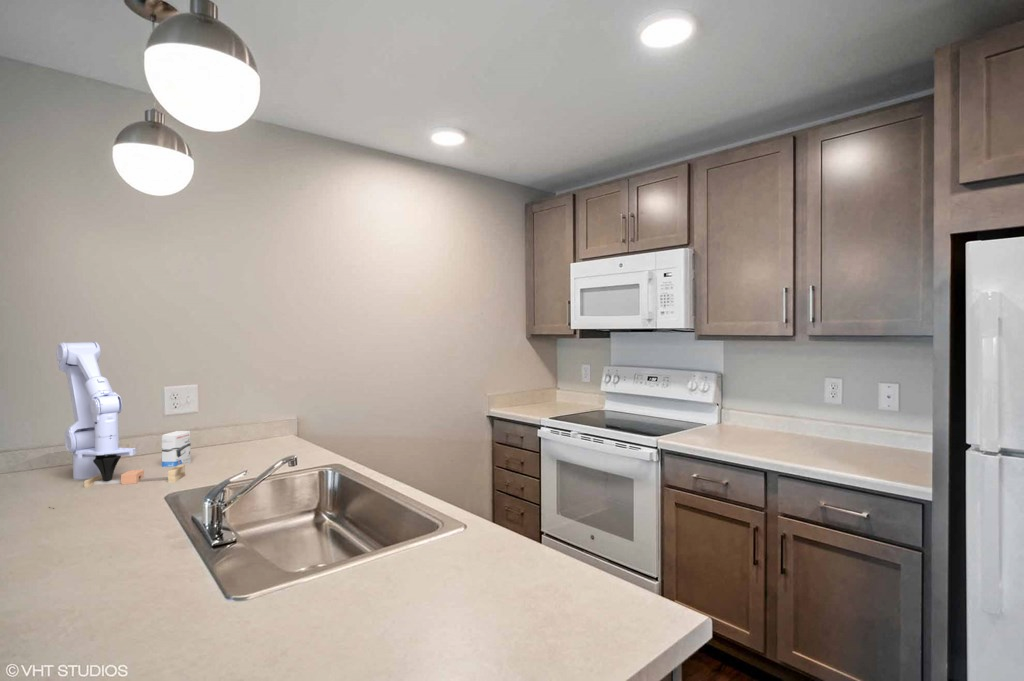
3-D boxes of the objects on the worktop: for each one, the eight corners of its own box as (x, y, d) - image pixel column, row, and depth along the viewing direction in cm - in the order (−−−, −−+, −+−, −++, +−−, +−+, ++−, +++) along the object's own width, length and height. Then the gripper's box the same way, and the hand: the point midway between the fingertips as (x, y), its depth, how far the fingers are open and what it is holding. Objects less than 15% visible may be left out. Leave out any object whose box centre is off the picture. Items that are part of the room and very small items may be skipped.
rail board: (98, 484, 157) (97, 469, 157) (184, 479, 162) (184, 465, 162) (84, 491, 150) (84, 476, 150) (175, 485, 155) (175, 471, 155)
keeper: (129, 479, 158) (129, 470, 158) (144, 478, 159) (143, 469, 159) (121, 484, 153) (121, 474, 153) (136, 483, 154) (136, 473, 154)
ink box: (175, 469, 173) (175, 435, 173) (161, 469, 173) (160, 435, 173) (191, 463, 181) (191, 430, 181) (177, 463, 182) (177, 430, 181)
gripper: (70, 439, 149) (71, 485, 149) (127, 437, 152) (128, 482, 152) (85, 434, 155) (86, 478, 156) (139, 432, 159) (139, 475, 159)
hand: (107, 480), depth 154 cm, fingers closed
